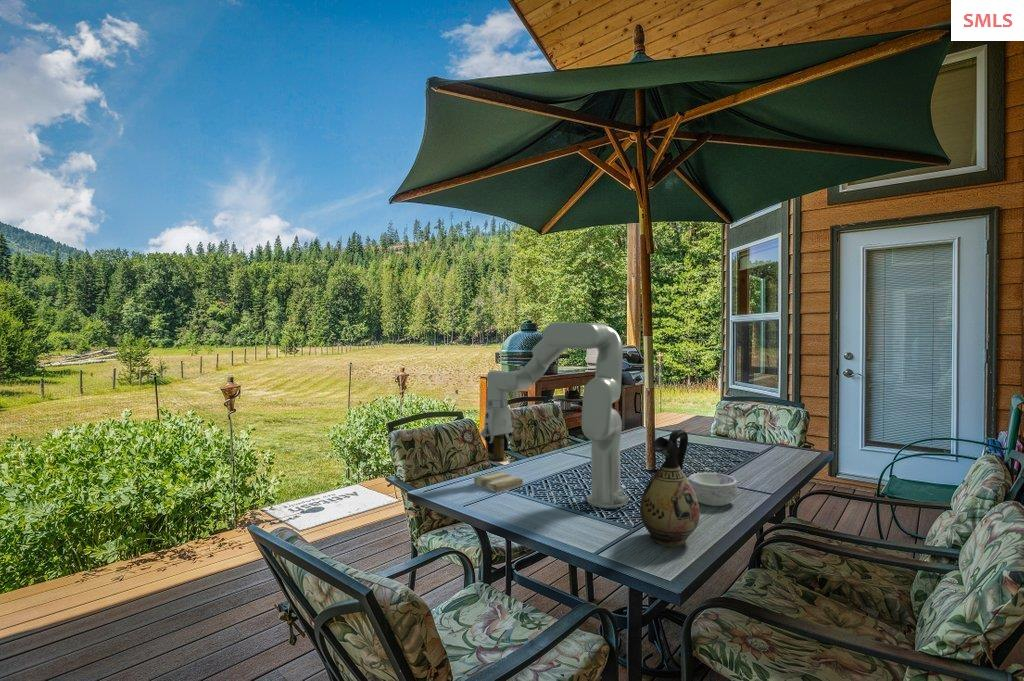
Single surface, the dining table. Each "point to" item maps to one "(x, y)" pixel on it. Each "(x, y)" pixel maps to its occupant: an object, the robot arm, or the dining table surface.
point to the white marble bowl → (713, 488)
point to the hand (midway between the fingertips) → (497, 451)
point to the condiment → (497, 450)
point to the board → (498, 481)
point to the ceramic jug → (670, 496)
